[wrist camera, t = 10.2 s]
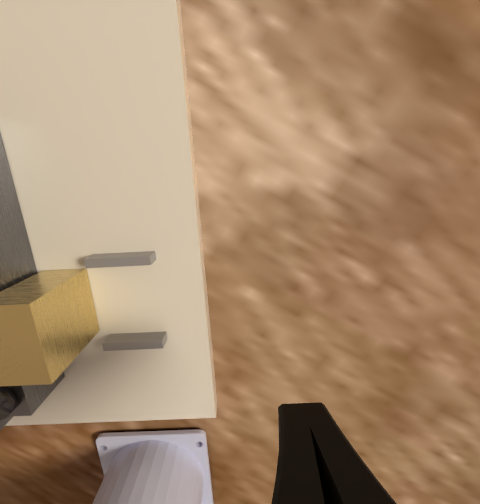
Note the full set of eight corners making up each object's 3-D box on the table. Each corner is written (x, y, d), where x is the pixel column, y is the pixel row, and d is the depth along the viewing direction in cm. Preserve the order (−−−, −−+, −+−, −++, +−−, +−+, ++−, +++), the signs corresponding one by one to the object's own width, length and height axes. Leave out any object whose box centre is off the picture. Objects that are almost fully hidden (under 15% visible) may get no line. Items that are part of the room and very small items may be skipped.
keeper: (99, 330, 17) (51, 384, 13) (59, 332, 17) (-3, 386, 13) (86, 268, 16) (29, 304, 12) (43, 270, 16) (-31, 306, 12)
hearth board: (217, 403, 20) (211, 461, 16) (-57, 414, 20) (-131, 474, 16) (179, -3, 14) (153, -78, 9) (-224, 24, 14) (-415, -37, 10)
